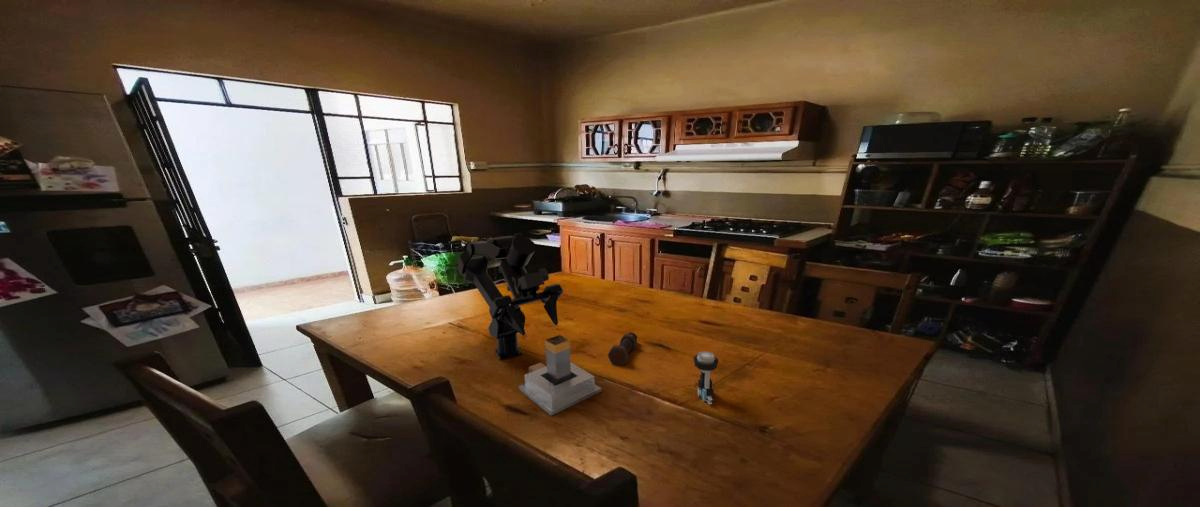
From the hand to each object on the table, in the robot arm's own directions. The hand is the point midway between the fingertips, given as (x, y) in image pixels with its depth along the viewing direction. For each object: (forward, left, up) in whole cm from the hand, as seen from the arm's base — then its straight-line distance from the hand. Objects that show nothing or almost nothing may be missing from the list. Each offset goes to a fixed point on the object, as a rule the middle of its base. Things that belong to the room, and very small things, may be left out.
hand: (541, 329), depth 93 cm
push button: (+27, +28, -13) cm, 41 cm away
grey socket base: (+5, +1, -13) cm, 14 cm away
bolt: (-1, +25, -14) cm, 29 cm away
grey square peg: (+7, +1, -12) cm, 14 cm away
